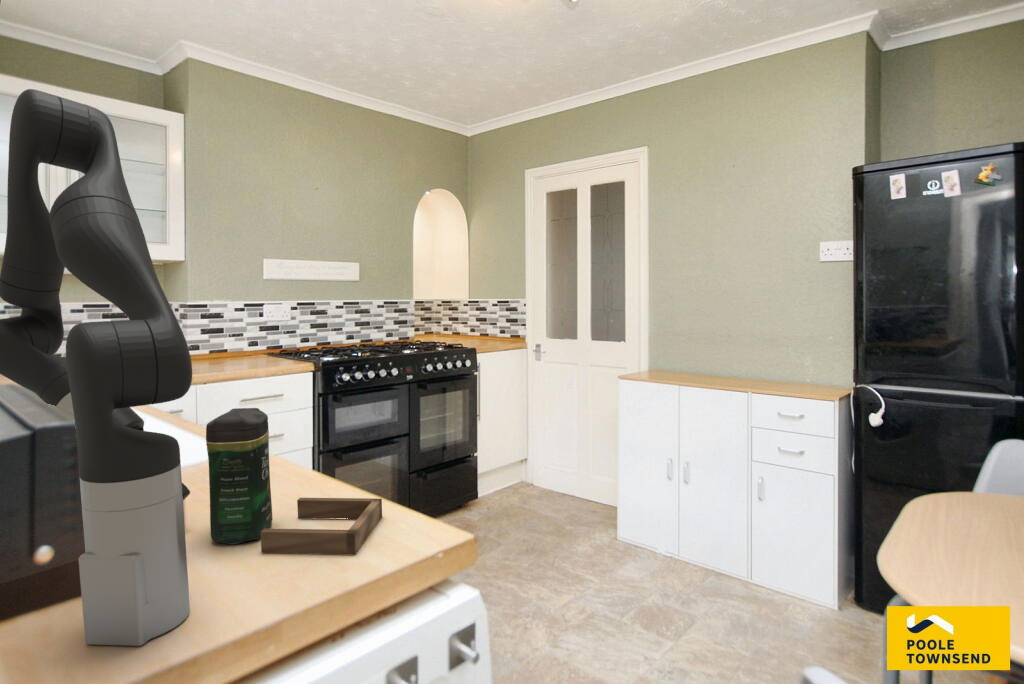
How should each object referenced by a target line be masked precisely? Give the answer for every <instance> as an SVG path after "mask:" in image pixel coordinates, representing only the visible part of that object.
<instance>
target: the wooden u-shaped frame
mask: <svg viewBox="0 0 1024 684" xmlns="http://www.w3.org/2000/svg"><path fill="white" fill-rule="evenodd" d="M382 499H383V498H364V497H363V498H360V497H359V498H357V497H355V498H354V497H299V498H298V499H297V501H296V503H297V519H298V518H346V519H345V520H353V519H357V520H355V521H354V523H353V524H351V526H350V527H349V529H330V528H329V529H327V528H326V529H321V528H319V529H317V528H315V529H314V528H268V529H266V528H264V529H263V530H262V531H261V532H260V534H261V537H260V547H261V548H260V549H261V554H293V553H297V555H298V554H301V553H302V555H304V554H305V553H306V554H305V555H310V554H309V553H312V554H311V555H314V554H313V553H318V554H317V555H346V554H355V555H356V554H357V553H358V552H359V550H360V549H359V548H361V547H362V546H361V545H363V544H364V543H365V542H366V541H367V539H368V537H369V536H370V535H371V533H372V532H373V531H374V529H375V528H376V527H377V525H378V524H379V522H380V521H381V519H382V518H383V505H382V503H383V501H382ZM347 518H348V519H347ZM372 530H373V531H372ZM369 534H370V535H369ZM364 541H365V542H364ZM363 542H364V543H363ZM358 549H359V550H358ZM262 552H263V553H262ZM356 552H357V553H356ZM303 553H304V554H303ZM307 553H308V554H307ZM319 553H320V554H319ZM321 553H322V554H321Z"/></svg>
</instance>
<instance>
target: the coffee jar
mask: <svg viewBox="0 0 1024 684" xmlns="http://www.w3.org/2000/svg"><path fill="white" fill-rule="evenodd" d="M205 429H206V430H205V443H206V451H207V459H208V476H209V477H208V478H209V480H208V482H209V524H210V525H209V527H210V529H209V530H210V532H209V533H210V539H211V540H212V541H213V542H214V543H215V542H218V543H221V544H222V543H223V544H227V545H235V544H236V545H237V544H242V543H244V542H247V541H251V540H257V539H261V534H260V532H261V531H262V530H263V529H264V528H266V529H270V527H271V524H272V522H273V506H272V493H271V492H272V489H271V473H270V472H271V471H270V452H269V451H270V447H269V446H270V445H269V444H270V441H269V440H270V439H269V438H270V437H269V436H270V434H269V433H270V432H269V417H268V415H267V414H266V413H265V412H264V411H262V410H261V409H260V408H258V407H249V408H248V407H242V408H240V407H239V408H237V407H235V408H231V409H230V410H229V411H227V412H225V413H223V414H221V415H219V416H217V417H216V418H214V419H212V420H210V421H209V422H207V424H206V427H205Z"/></svg>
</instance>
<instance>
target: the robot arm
mask: <svg viewBox="0 0 1024 684" xmlns="http://www.w3.org/2000/svg"><path fill="white" fill-rule="evenodd" d="M11 114H12V115H11V119H10V129H9V139H8V140H9V141H8V166H7V168H8V169H7V194H6V195H7V209H6V210H7V212H6V213H7V215H6V216H7V218H6V220H7V221H6V237H5V245H4V251H3V252H4V253H3V256H2V263H1V267H0V268H1V269H0V298H1V299H2V300H3V301H4V302H6V303H8V304H10V305H12V306H15V307H20V308H21V312H20V315H19V316H13V317H7V318H0V375H1V376H2V377H5V378H7V379H9V380H10V381H12V382H14V383H16V384H17V385H19V386H20V387H23V388H25V389H27V390H29V391H31V392H33V393H35V394H36V395H37V396H38V398H40V400H42V402H44V403H45V404H46V403H47V404H51V405H55V406H59V407H62V408H66V409H73V412H74V419H75V429H76V435H75V440H76V450H77V459H78V460H77V461H78V465H77V466H78V476H79V477H78V478H79V486H80V487H79V488H80V489H79V490H80V500H81V511H82V512H81V513H82V515H81V517H82V525H83V527H82V528H83V539H84V541H83V542H84V549H85V550H84V551H85V552H84V553H82V554H81V555H80V556H79V557H78V567H79V568H78V569H79V582H80V592H81V593H80V595H81V605H82V615H83V616H82V617H83V618H82V619H83V627H84V628H83V629H84V631H83V632H84V640H85V641H84V642H85V644H86V645H98V646H99V645H101V646H106V645H107V646H135V647H141V646H142V645H144V644H146V643H147V642H148V641H150V640H151V639H154V638H155V637H158V636H161V635H164V634H165V633H168V632H169V631H171V630H173V629H174V628H176V627H177V626H179V625H181V624H182V622H184V621H185V620H186V619H187V617H188V616H189V614H190V610H191V604H190V603H191V602H190V589H189V587H190V586H189V574H188V561H187V559H188V557H187V546H186V545H187V543H186V530H185V529H186V528H185V514H184V513H185V512H184V501H185V500H186V499H187V498H188V497H189V495H190V494H191V491H190V490H189V488H188V487H187V485H185V483H184V482H183V481H182V480H183V478H182V465H181V449H180V444H179V442H178V440H177V439H176V438H175V437H174V436H171V435H169V434H165V433H162V432H155V431H154V432H153V431H149V430H148V431H147V430H144V426H145V421H144V420H143V418H142V417H140V415H139V414H138V413H136V412H135V411H134V410H133V409H132V408H134V407H142V406H150V405H156V404H157V405H159V404H164V403H167V402H168V403H169V402H172V401H173V402H174V401H176V400H179V399H182V398H183V397H184V396H185V395H187V393H188V392H189V390H190V388H191V386H192V380H193V365H192V357H191V354H190V349H189V346H188V342H187V339H186V337H185V335H184V332H183V331H182V328H181V326H180V323H179V320H178V319H177V317H176V315H175V313H174V310H173V309H172V306H171V305H170V302H169V301H168V298H167V296H166V294H165V291H164V290H163V288H162V285H161V283H160V281H159V278H158V276H157V275H158V274H157V273H156V270H155V267H154V264H153V261H152V257H151V254H150V251H149V247H148V243H147V241H146V236H145V234H144V231H143V227H142V225H141V222H140V219H139V216H138V213H137V210H136V209H135V205H134V203H133V202H132V199H131V195H130V192H129V189H128V186H127V182H126V179H125V177H124V173H123V172H124V171H123V167H122V163H121V157H120V152H119V146H118V141H117V136H116V133H115V129H114V126H113V124H112V121H111V120H110V117H109V116H108V114H106V113H105V112H104V111H101V110H100V109H98V108H97V107H94V106H91V105H88V104H86V103H81V102H78V101H75V100H72V99H68V98H64V97H62V96H59V95H55V94H51V93H49V92H48V93H47V92H46V91H42V90H38V89H34V88H33V89H32V88H27V89H25V90H24V91H22V92H21V93H20V94H19V96H18V97H17V98H16V101H15V104H14V105H13V109H12V113H11ZM40 164H47V165H50V166H55V167H59V168H64V169H68V170H71V171H77V172H80V173H82V174H83V175H82V176H81V177H80V178H78V179H77V180H75V181H74V182H73V183H70V185H68V186H67V187H66V188H65V189H64V190H62V192H60V194H59V195H58V196H57V197H56V199H55V200H54V201H53V203H52V206H51V208H50V210H49V209H48V208H47V205H46V203H45V200H44V198H43V196H42V191H41V190H40V189H41V188H40V183H39V165H40ZM65 268H66V269H67V271H68V272H69V273H70V274H72V276H74V277H75V278H76V279H77V280H78V281H80V282H81V284H84V285H85V286H86V287H88V288H89V289H91V291H93V292H95V293H97V294H98V295H100V296H101V297H103V298H104V299H106V300H107V301H109V302H110V303H111V304H112V305H114V306H115V307H116V308H118V309H119V310H121V312H123V314H124V315H125V316H126V317H127V318H128V319H127V320H126V319H125V320H103V321H89V322H88V321H87V322H85V321H84V322H80V323H78V324H75V325H74V326H72V327H71V329H70V330H69V333H68V335H67V337H66V341H65V356H54V355H55V354H56V353H57V352H58V351H59V349H60V348H61V346H62V344H63V342H64V337H65V331H64V322H63V315H62V307H61V301H60V291H61V287H62V282H63V277H64V272H65ZM47 404H46V405H47Z"/></svg>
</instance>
